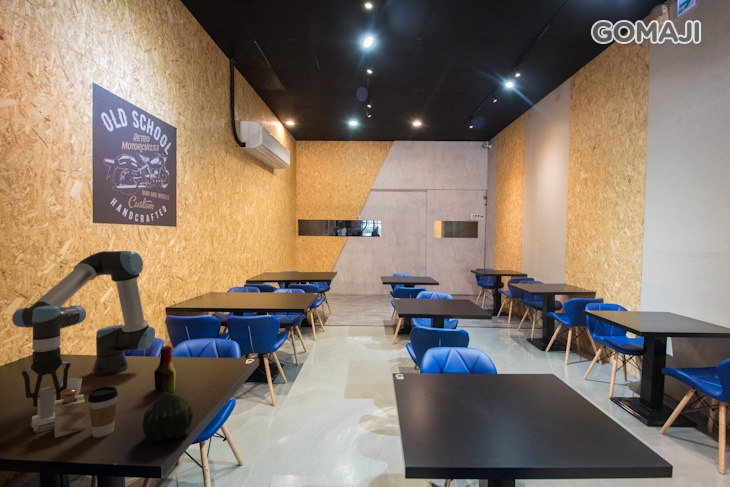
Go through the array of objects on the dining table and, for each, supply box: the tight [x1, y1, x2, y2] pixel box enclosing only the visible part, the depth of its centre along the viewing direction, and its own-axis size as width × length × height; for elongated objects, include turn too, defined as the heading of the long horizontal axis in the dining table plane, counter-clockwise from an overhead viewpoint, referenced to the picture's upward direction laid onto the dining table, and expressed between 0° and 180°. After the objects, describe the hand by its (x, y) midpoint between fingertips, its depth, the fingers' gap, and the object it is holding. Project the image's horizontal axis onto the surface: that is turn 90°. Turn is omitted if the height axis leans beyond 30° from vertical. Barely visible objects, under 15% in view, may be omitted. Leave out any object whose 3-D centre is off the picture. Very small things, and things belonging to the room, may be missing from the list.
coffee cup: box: [87, 386, 119, 438], centre depth 120 cm, size 8×8×15 cm
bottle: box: [153, 345, 176, 393], centre depth 155 cm, size 12×6×20 cm, turn 58°
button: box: [61, 388, 77, 404], centre depth 123 cm, size 4×4×7 cm
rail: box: [34, 411, 55, 434], centre depth 129 cm, size 6×19×2 cm, turn 42°
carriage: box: [31, 385, 55, 432], centre depth 126 cm, size 8×7×13 cm
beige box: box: [54, 393, 86, 439], centre depth 123 cm, size 8×8×10 cm
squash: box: [142, 392, 194, 443], centre depth 118 cm, size 14×15×15 cm
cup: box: [53, 377, 83, 396], centre depth 146 cm, size 7×10×8 cm
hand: (47, 412), depth 126 cm, fingers closed on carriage, 3 cm apart
